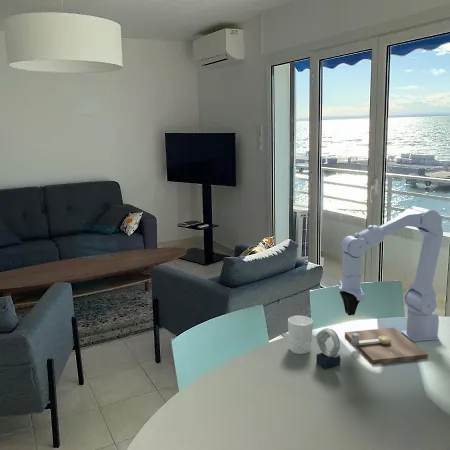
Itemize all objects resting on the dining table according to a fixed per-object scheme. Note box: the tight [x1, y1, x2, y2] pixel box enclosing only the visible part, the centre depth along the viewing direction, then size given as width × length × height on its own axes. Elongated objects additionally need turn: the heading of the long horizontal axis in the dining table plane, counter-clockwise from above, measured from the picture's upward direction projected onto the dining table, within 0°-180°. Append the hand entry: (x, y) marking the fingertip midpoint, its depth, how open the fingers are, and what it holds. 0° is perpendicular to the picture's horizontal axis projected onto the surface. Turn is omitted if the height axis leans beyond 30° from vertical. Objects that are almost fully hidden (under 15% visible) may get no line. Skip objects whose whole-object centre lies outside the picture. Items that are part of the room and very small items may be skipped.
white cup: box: [287, 315, 314, 355], centre depth 151 cm, size 8×8×10 cm
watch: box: [315, 328, 341, 370], centre depth 141 cm, size 6×8×11 cm
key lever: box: [350, 333, 391, 347], centre depth 151 cm, size 13×4×3 cm, turn 100°
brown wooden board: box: [344, 327, 429, 365], centre depth 152 cm, size 18×20×2 cm
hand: (350, 313), depth 153 cm, fingers closed
